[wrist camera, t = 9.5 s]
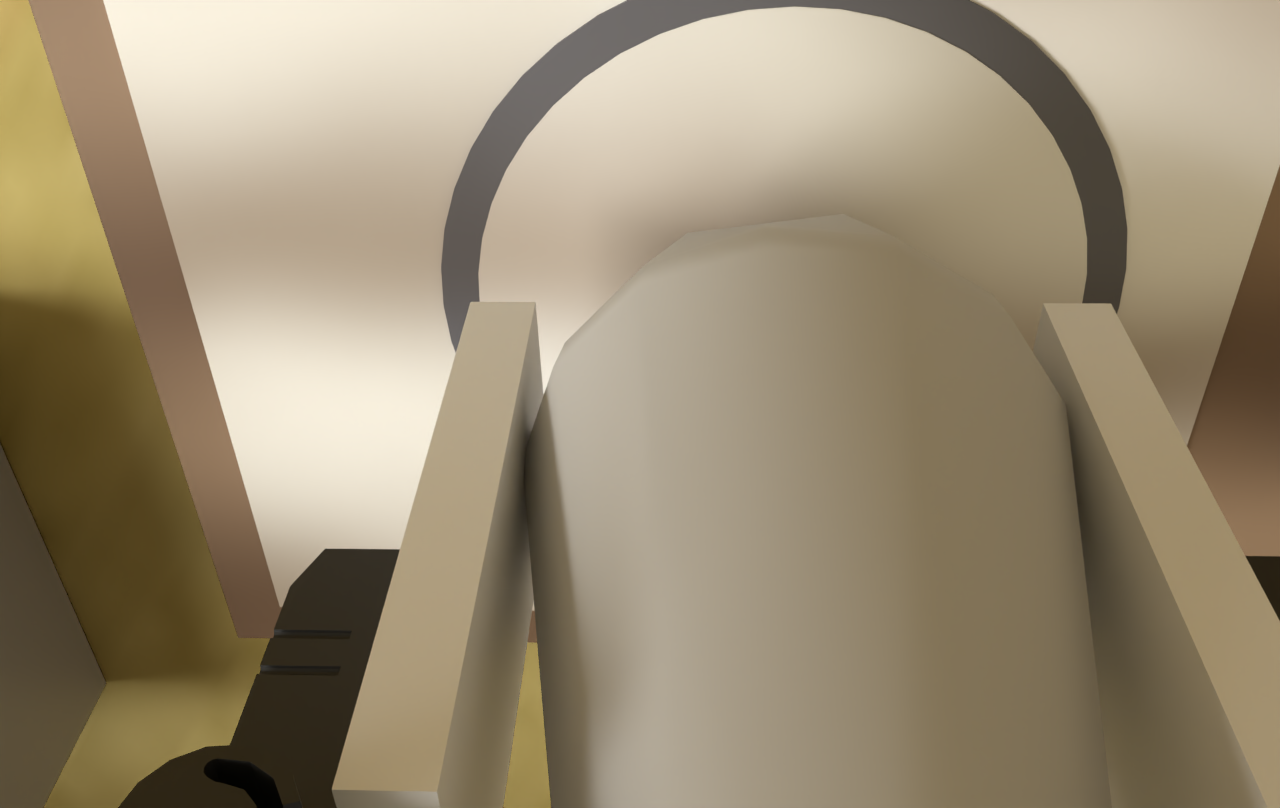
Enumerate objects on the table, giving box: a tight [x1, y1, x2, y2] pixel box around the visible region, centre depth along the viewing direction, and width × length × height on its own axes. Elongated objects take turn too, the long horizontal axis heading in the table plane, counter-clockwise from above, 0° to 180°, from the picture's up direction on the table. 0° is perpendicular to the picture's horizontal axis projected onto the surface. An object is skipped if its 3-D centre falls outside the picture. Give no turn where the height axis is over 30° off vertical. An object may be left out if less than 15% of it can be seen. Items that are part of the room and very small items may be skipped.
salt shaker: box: [523, 214, 1112, 808], centre depth 10 cm, size 6×6×13 cm
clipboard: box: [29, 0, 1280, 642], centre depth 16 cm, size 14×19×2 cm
